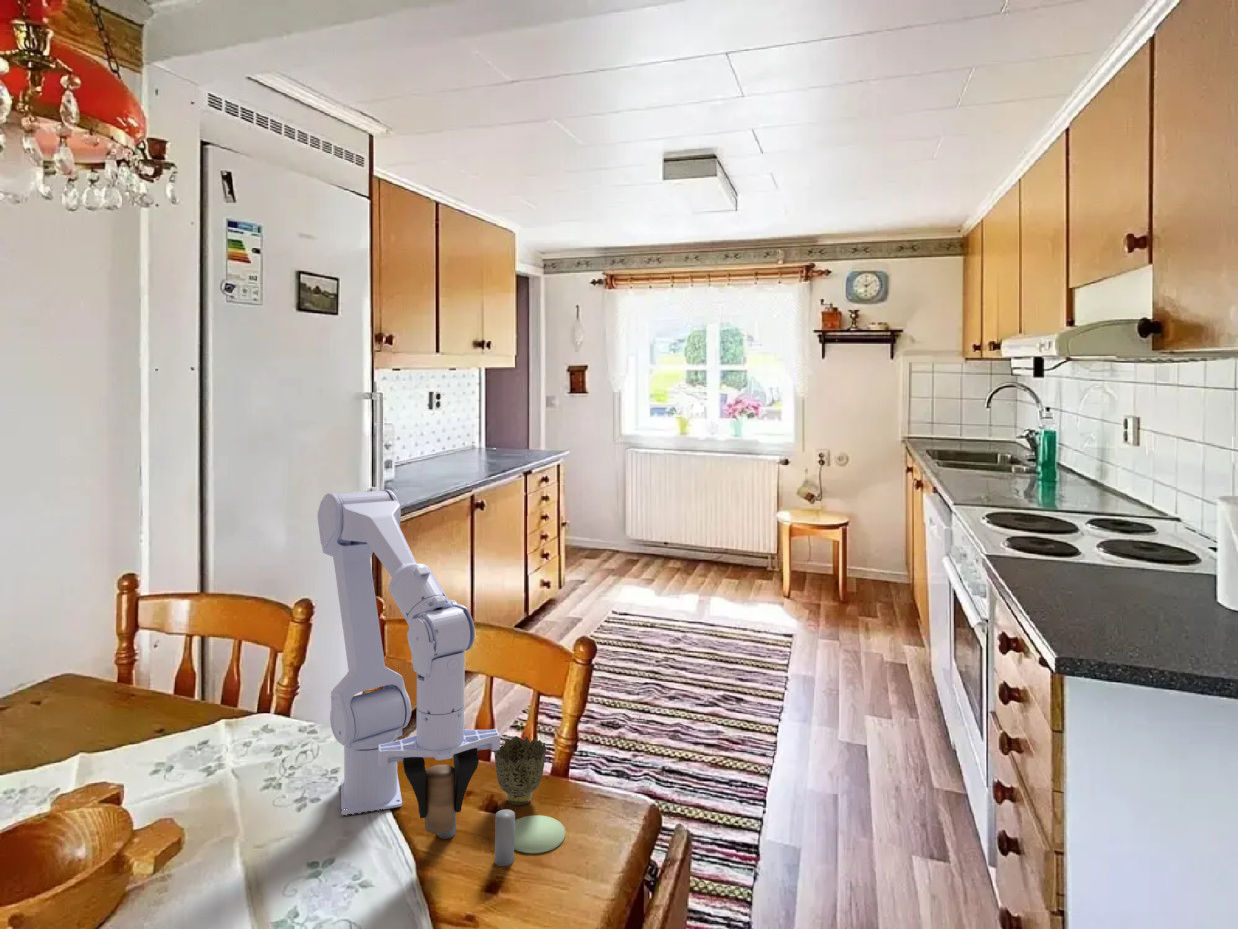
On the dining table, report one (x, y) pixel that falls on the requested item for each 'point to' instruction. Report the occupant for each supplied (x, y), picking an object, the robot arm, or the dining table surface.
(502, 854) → the post
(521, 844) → the coaster
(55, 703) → the dining table surface
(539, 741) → the cup
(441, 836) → the post
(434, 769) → the dowel
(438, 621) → the robot arm
